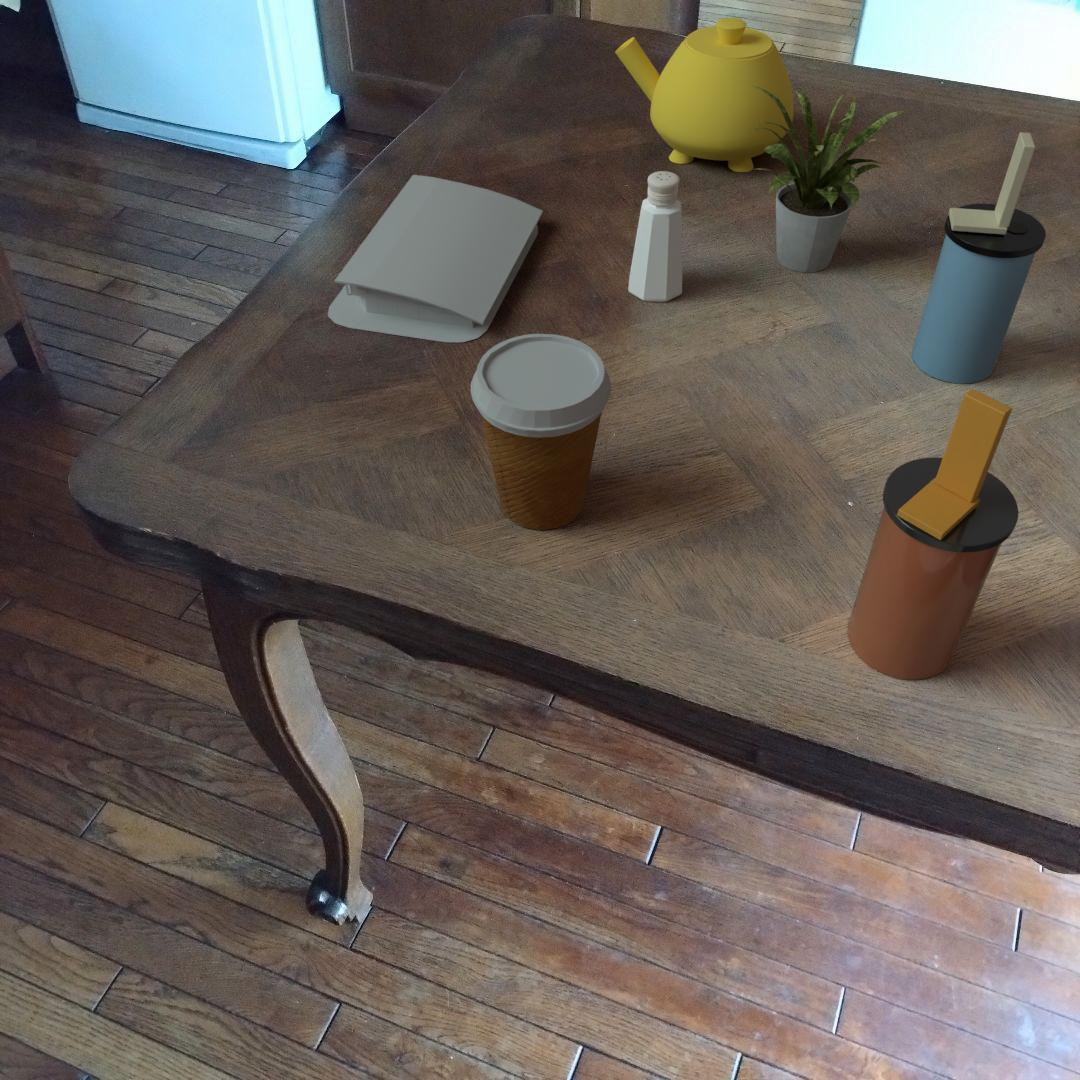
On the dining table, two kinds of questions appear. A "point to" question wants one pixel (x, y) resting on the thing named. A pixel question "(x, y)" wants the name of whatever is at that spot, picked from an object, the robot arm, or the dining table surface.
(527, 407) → the disposable coffee cup
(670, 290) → the salt shaker
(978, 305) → the disc
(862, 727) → the dining table surface
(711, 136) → the teapot
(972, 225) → the block
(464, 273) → the book
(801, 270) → the house plant
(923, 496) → the near slider
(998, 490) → the near tumbler
